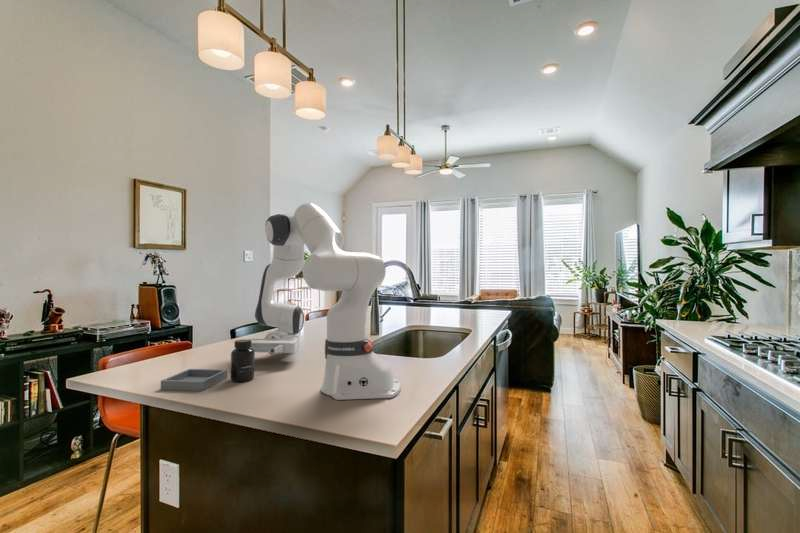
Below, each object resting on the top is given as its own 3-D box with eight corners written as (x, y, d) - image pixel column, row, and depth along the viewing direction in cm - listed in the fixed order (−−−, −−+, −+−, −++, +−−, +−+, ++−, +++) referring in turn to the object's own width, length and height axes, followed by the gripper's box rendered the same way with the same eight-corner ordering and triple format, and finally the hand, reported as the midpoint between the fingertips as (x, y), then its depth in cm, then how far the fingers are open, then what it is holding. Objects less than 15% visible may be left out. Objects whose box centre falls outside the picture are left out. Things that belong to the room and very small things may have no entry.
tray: (227, 377, 119) (227, 369, 119) (202, 390, 106) (202, 381, 106) (189, 376, 120) (189, 368, 120) (160, 389, 107) (160, 380, 107)
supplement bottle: (246, 383, 113) (245, 343, 113) (225, 382, 114) (225, 342, 114) (259, 376, 120) (258, 338, 120) (239, 375, 121) (239, 338, 121)
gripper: (249, 333, 143) (230, 340, 129) (302, 334, 141) (288, 341, 127) (249, 350, 143) (230, 359, 129) (302, 351, 141) (288, 360, 127)
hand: (259, 350), depth 128 cm, fingers open, 8 cm apart
